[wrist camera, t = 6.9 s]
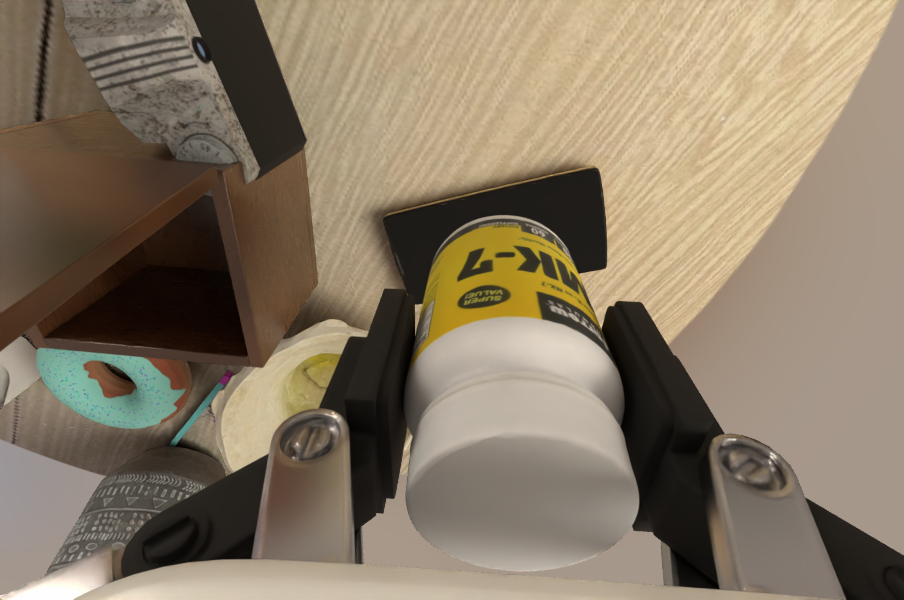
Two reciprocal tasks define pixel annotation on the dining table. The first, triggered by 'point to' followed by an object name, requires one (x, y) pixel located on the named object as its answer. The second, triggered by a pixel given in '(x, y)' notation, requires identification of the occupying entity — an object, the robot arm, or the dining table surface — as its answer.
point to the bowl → (278, 391)
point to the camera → (191, 78)
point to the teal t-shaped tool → (201, 409)
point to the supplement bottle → (514, 406)
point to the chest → (188, 261)
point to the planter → (136, 499)
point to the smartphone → (540, 199)
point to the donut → (116, 386)
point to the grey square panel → (17, 369)
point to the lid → (78, 222)
